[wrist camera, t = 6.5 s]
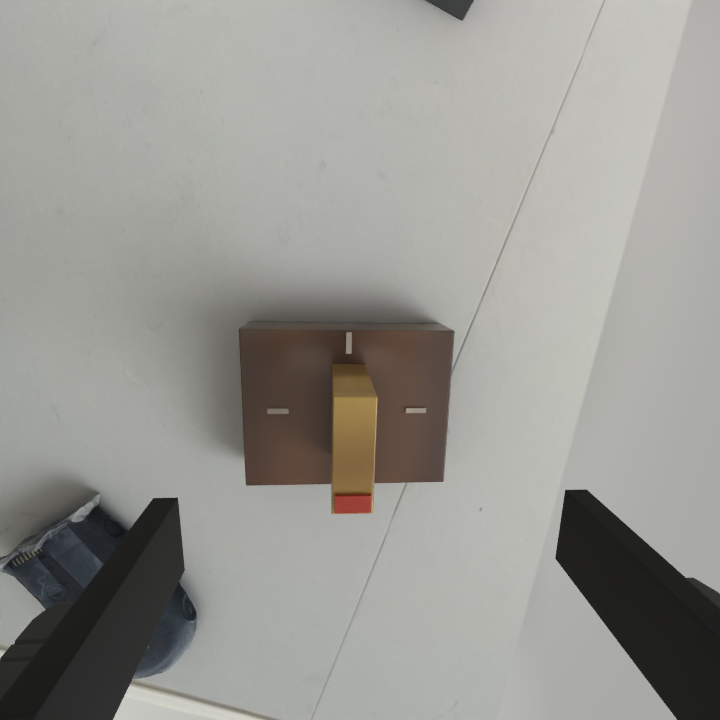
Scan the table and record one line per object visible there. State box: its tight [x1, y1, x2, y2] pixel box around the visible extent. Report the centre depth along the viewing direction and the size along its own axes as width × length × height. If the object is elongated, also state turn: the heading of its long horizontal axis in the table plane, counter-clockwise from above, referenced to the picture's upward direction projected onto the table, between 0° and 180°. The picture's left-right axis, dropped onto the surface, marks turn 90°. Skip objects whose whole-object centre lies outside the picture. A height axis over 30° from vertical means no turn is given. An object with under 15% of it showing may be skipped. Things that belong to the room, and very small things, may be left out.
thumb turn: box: [331, 364, 378, 514], centre depth 24 cm, size 6×2×7 cm, turn 178°
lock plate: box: [239, 322, 454, 485], centre depth 29 cm, size 14×11×4 cm
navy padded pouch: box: [0, 493, 197, 679], centre depth 32 cm, size 9×6×15 cm
